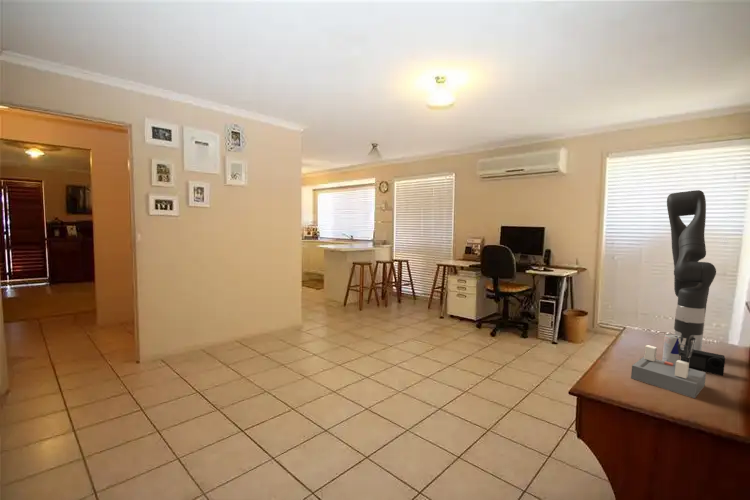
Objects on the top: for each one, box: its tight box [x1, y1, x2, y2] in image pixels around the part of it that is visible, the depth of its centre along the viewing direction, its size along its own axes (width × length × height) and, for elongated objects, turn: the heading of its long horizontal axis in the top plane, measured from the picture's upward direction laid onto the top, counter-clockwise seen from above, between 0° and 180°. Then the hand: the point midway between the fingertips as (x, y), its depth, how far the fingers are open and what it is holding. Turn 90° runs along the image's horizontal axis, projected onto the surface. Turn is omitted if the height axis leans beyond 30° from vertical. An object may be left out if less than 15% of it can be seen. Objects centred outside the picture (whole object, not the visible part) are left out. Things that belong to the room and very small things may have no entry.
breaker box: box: [630, 356, 707, 399], centre depth 129 cm, size 14×18×6 cm
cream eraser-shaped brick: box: [675, 359, 689, 379], centre depth 122 cm, size 2×3×5 cm
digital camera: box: [689, 350, 726, 377], centre depth 138 cm, size 10×5×7 cm, turn 49°
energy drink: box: [661, 333, 681, 364], centre depth 143 cm, size 5×5×12 cm
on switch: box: [643, 344, 658, 361], centre depth 136 cm, size 2×3×5 cm
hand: (684, 366), depth 124 cm, fingers closed
